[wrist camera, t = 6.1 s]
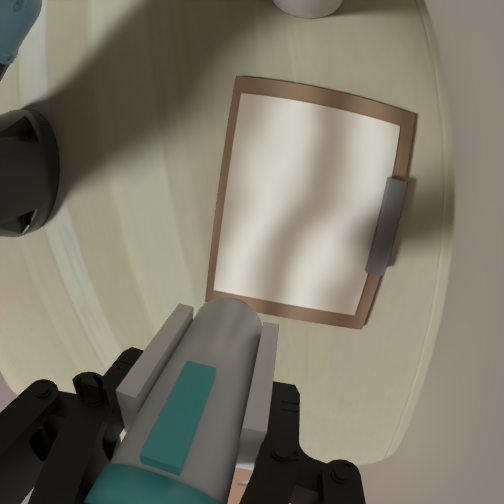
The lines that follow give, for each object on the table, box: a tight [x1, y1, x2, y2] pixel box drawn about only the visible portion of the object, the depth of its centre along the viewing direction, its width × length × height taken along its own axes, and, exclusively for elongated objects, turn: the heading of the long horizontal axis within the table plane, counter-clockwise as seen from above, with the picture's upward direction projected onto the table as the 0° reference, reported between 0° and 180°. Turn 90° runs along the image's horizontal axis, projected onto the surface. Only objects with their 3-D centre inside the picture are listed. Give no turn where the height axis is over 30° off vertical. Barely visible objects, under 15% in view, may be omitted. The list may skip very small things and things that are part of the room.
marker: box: [83, 298, 262, 504], centre depth 10 cm, size 4×4×13 cm
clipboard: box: [205, 76, 415, 330], centre depth 23 cm, size 15×20×2 cm
